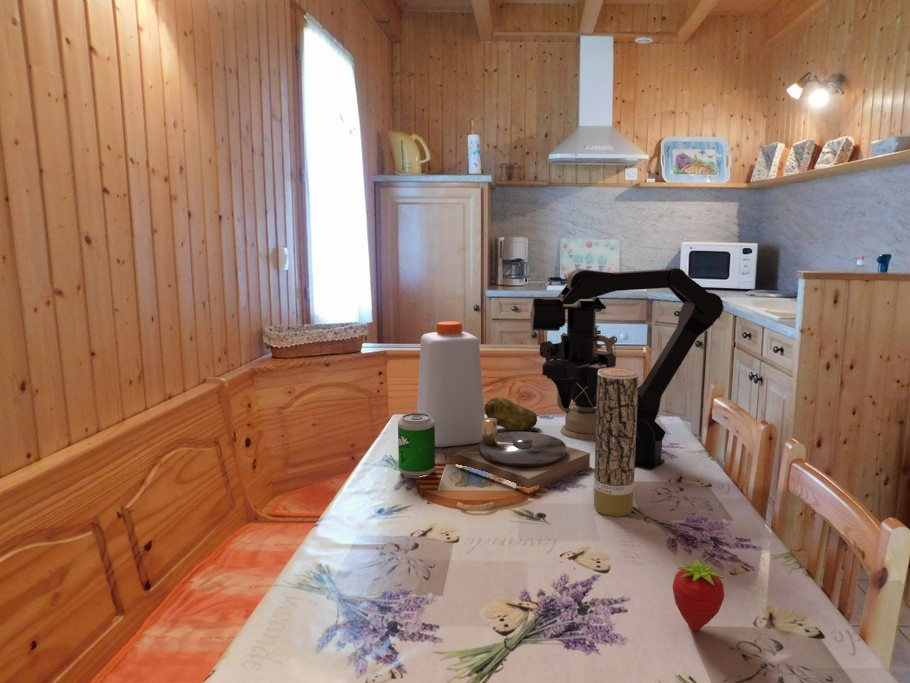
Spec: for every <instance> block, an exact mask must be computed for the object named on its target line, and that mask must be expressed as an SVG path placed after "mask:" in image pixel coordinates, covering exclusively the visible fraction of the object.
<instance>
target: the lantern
mask: <svg viewBox="0 0 910 683" xmlns="http://www.w3.org/2000/svg"><path fill="white" fill-rule="evenodd" d="M599 328H600V325H597V324H595V335H598V336H599V341H595V350H597V351H598V349H600V350H601V349H602V348H603V347H602V345H600V344H598V342H602V343H604V344H605V347H606V348H605V349H606V352H611V353H613V354H614V355H615V357H616V358H617V352H616V344H617V342H618V338H617V336H615V335H613V336H610V337H609V338H608V336H605V335H600V334H598V329H599ZM563 335H567V332H562V334H561V335H560V339H561V338H562V336H563ZM613 345H614V346H613ZM613 347H614V349H613ZM564 361H567V360H564ZM576 365H577V364H576ZM610 368H616V366H613V367H610ZM575 378H577V382H576V385H575V389H574V393H573V396H572V400H571V401H572V402H571V403H570V405H571V406H572V408H571V407H569V408H568V409H566V408H564V407H563V405H562V402H561V398H560V395H559V392H558V390H557V393H556V394H557V395H556V396H557V397H556V400H557V402H556V403H557V406H558V407H559V409H560V410H561V411H563V412H565V413H566V414H565V417H564V419H565V420H564V421H565V422H564V425H563V426H562V427H561V428H560V434H562V436H565V437H567V438H570V439H574V440H582V441H595V439H596V407H597V395H596V397H595V399H594V400H589V396H588V381H587V373H586V372H585V370H584V369H583V368H580V369H577V374H576V375H575ZM573 405H574V407H573Z"/></svg>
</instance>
